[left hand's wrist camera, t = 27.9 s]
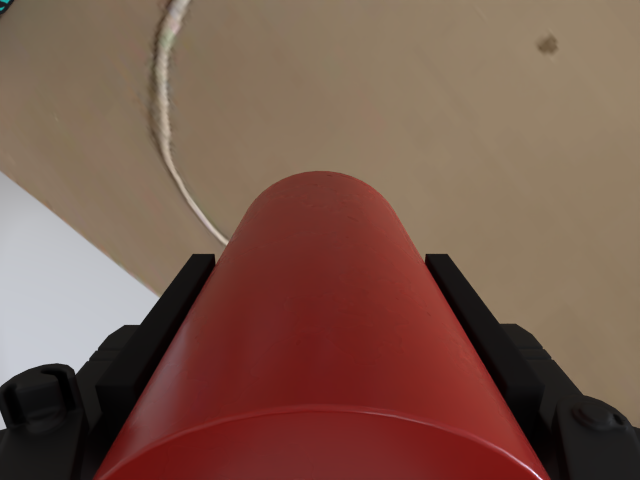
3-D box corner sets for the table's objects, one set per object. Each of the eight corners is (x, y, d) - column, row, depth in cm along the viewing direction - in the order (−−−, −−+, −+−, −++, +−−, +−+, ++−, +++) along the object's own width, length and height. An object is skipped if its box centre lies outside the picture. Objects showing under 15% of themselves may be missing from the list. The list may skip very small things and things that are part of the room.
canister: (201, 244, 17) (-54, 588, 6) (332, 132, 16) (369, 285, 4) (310, 351, 19) (297, 770, 8) (437, 263, 18) (674, 626, 6)
